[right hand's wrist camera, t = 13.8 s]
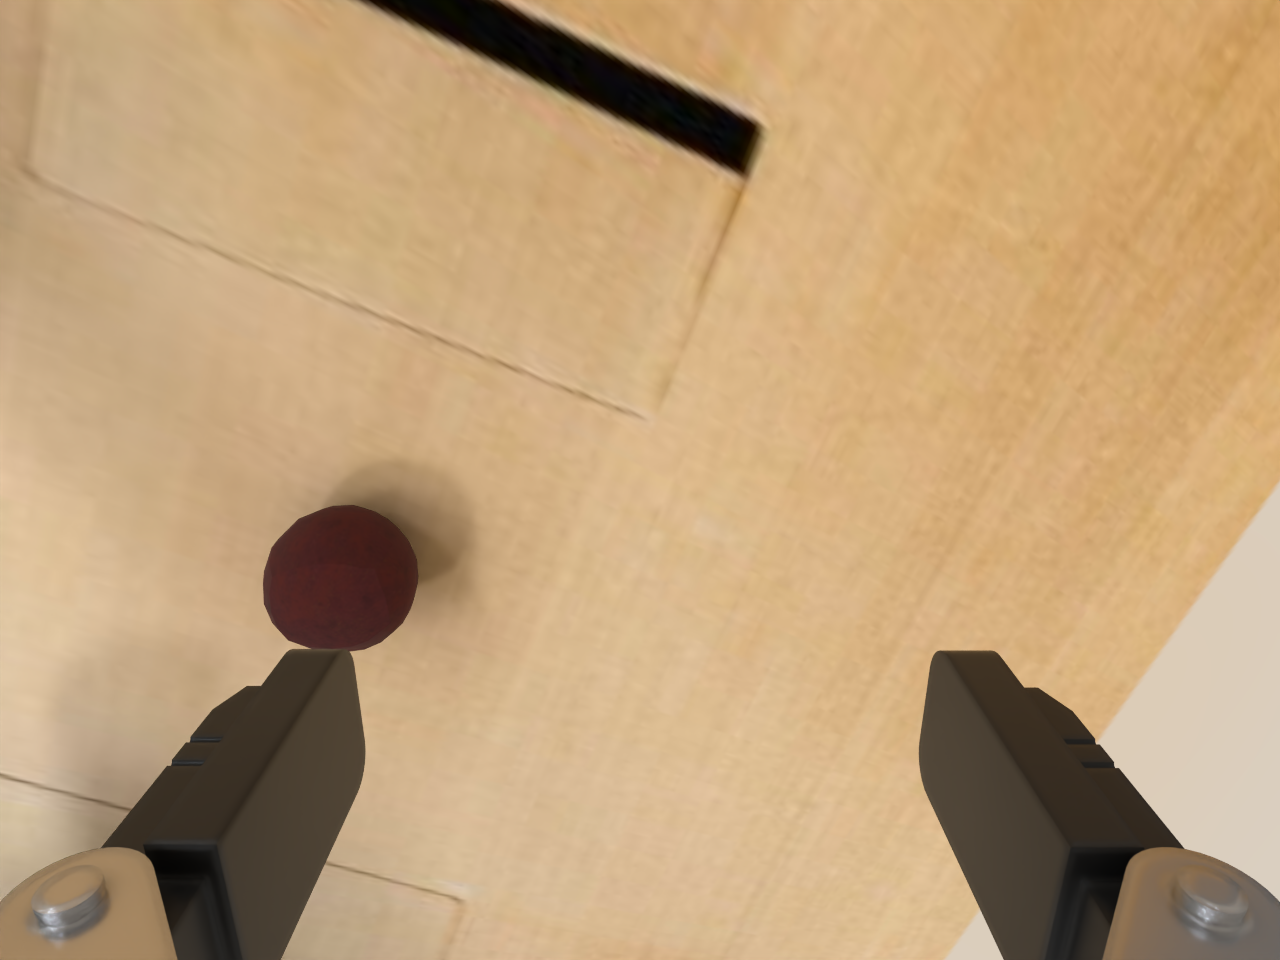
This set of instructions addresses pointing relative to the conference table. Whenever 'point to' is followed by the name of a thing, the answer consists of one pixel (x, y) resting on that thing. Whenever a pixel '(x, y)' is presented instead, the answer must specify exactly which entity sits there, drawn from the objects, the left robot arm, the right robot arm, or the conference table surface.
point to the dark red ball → (340, 579)
